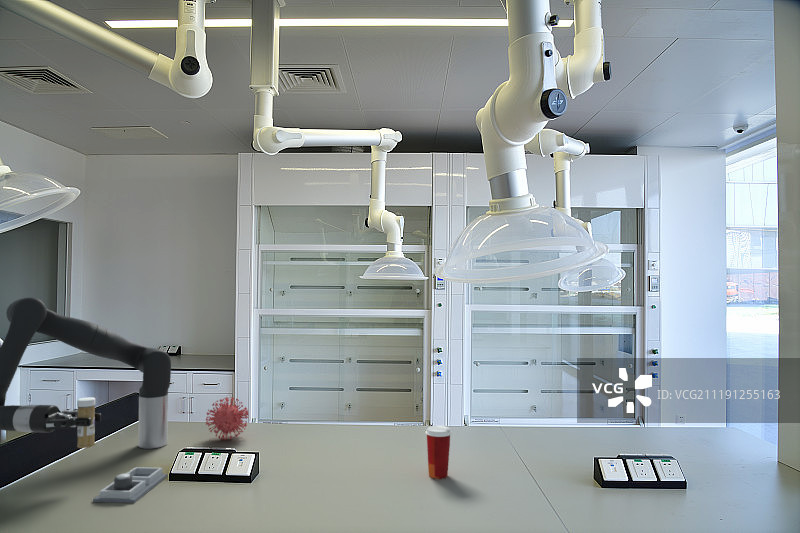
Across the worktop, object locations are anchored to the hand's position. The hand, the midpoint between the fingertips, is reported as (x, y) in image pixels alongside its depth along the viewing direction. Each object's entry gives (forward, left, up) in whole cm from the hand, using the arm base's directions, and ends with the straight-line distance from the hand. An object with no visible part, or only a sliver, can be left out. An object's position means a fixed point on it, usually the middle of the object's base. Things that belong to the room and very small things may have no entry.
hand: (95, 419), depth 162 cm
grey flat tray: (+3, +12, -18) cm, 22 cm away
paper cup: (-13, +97, -18) cm, 100 cm away
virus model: (-46, +22, -18) cm, 54 cm away
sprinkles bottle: (0, -3, -8) cm, 8 cm away
